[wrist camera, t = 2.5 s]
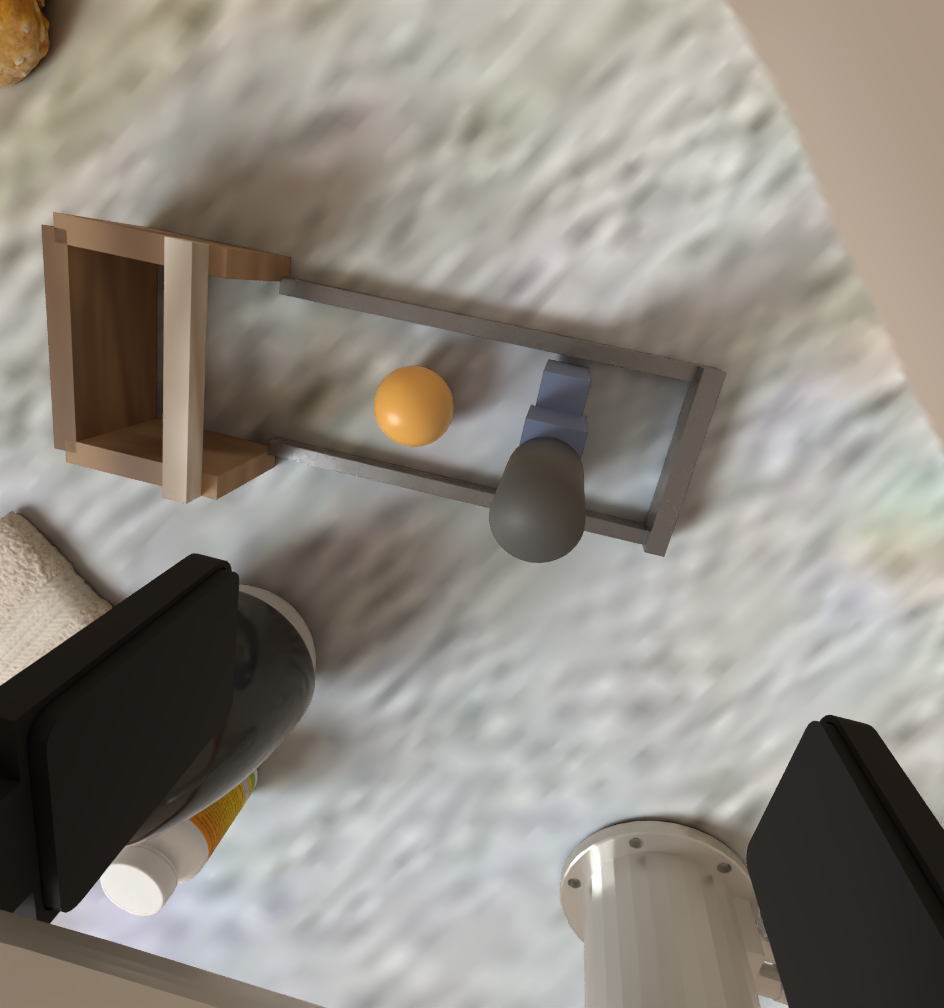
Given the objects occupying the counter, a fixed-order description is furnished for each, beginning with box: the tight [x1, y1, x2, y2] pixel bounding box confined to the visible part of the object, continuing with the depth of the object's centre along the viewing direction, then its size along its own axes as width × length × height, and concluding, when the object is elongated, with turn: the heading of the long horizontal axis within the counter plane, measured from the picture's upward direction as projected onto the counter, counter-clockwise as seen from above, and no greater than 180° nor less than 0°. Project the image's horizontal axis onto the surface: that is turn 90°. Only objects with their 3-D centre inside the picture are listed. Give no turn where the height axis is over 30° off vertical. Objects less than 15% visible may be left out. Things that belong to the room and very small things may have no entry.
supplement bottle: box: [101, 769, 258, 916], centre depth 38 cm, size 5×5×10 cm
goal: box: [41, 212, 291, 504], centre depth 30 cm, size 9×11×7 cm
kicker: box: [489, 359, 591, 563], centre depth 25 cm, size 3×7×13 cm, turn 169°
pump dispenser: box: [125, 585, 316, 847], centre depth 32 cm, size 10×10×15 cm
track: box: [267, 277, 726, 557], centre depth 31 cm, size 22×9×2 cm, turn 79°
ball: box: [374, 366, 454, 447], centre depth 30 cm, size 4×4×4 cm
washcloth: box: [0, 511, 113, 685], centre depth 41 cm, size 12×18×3 cm, turn 130°
